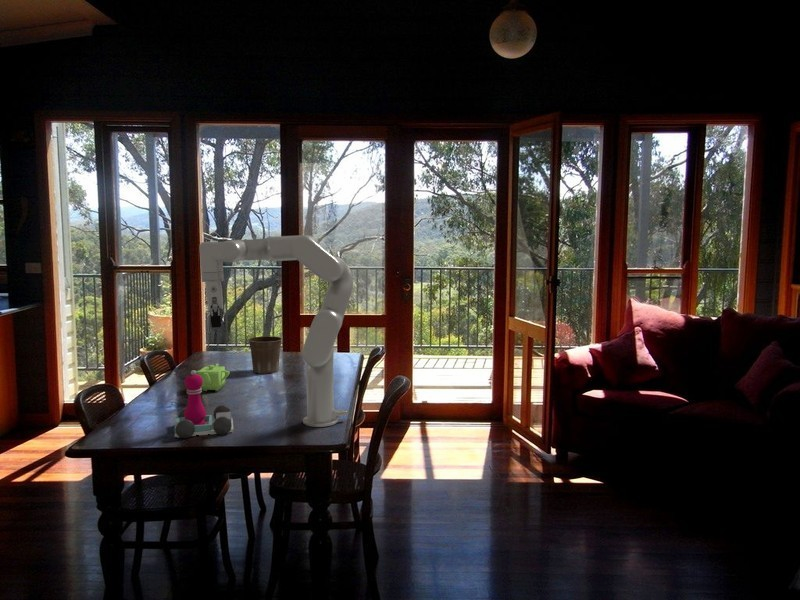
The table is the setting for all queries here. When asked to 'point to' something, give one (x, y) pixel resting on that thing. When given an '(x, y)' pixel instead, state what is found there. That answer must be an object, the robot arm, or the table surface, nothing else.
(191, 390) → the pepper mill
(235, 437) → the table surface
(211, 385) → the teapot
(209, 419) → the chassis
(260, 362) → the plant pot
